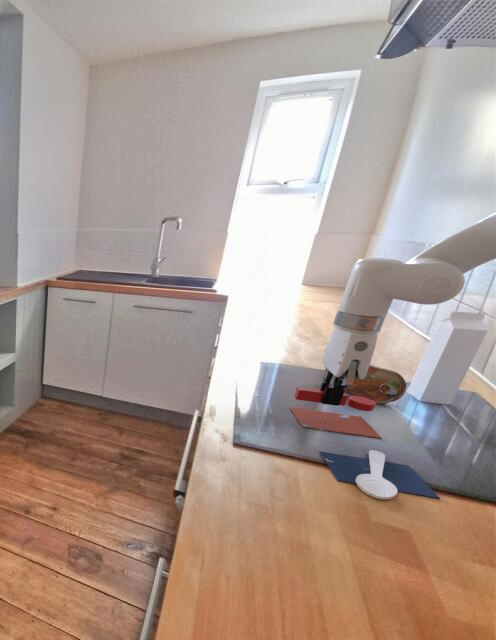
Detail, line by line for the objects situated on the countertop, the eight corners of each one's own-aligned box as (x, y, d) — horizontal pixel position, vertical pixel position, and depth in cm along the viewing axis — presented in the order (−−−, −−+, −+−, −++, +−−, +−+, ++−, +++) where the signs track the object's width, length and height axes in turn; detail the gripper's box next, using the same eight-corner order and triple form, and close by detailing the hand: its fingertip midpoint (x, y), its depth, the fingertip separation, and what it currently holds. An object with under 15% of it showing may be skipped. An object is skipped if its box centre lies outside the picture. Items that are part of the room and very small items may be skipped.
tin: (326, 385, 111) (337, 356, 108) (334, 384, 112) (345, 355, 109) (391, 409, 98) (405, 377, 95) (400, 408, 99) (414, 375, 96)
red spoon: (367, 404, 91) (371, 394, 90) (377, 412, 87) (381, 402, 86) (292, 394, 95) (295, 384, 94) (297, 402, 92) (301, 392, 91)
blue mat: (408, 466, 77) (408, 465, 77) (439, 499, 69) (440, 498, 69) (318, 452, 82) (319, 451, 82) (338, 481, 73) (338, 480, 73)
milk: (450, 405, 100) (496, 317, 91) (418, 401, 102) (460, 314, 93) (435, 395, 105) (477, 310, 96) (405, 391, 107) (444, 308, 98)
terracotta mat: (360, 417, 95) (361, 416, 95) (381, 438, 86) (381, 437, 86) (289, 407, 99) (289, 407, 99) (302, 427, 91) (302, 426, 91)
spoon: (395, 457, 79) (396, 455, 79) (397, 504, 67) (398, 502, 67) (358, 447, 82) (359, 445, 82) (354, 490, 70) (355, 488, 70)
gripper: (401, 334, 76) (363, 421, 84) (363, 314, 90) (334, 390, 97) (351, 329, 79) (319, 414, 86) (322, 311, 92) (297, 386, 99)
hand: (327, 401), depth 91 cm, fingers closed on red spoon, 1 cm apart
